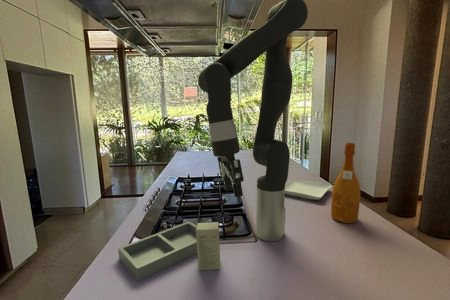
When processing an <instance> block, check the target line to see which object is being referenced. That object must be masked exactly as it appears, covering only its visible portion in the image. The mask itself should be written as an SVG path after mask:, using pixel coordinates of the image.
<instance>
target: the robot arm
mask: <svg viewBox="0 0 450 300" xmlns="http://www.w3.org/2000/svg"><path fill="white" fill-rule="evenodd" d="M308 12H309V11H308V6H307V4H306V2H305V1H304V0H282V1H280V2H277V3H276V4H275V5H273V6H272V7H271V8H270V9H269V11H268V13H267V17H266V22H265V23H264V24H262V25H261V26H260V27H258V28H256V29H255V30H253V31H251V32H250V33H248V34H247V35H245V36H244V37H243V38H240V39H239V40H238V41H237V42H236V43H234V44H233V45H232V46H231V47H230V48H228V49H227V50H226V51H225V52H224V53H223V54H222V55H221V56H220V57H219V58H217V60H215V61H213V62H212V63H210V64H208V65H207V66H206V67H205V68H203V70H202V71H200V72H199V73H200V74H199V75H198V78H197V83H198V86H199V88H200V89H201V91H203V92H204V93H206V94H207V104H206V106H205V108H206V116H207V122H208V128H209V129H208V131H209V137H210V142H211V143H210V144H211V148H212V149H211V150H212V154H213V156H214V157H217V162H218V163H217V164H218V169H219V175H220V177H221V178H222V179H223V183H224V189H225V191H226V192H229V191H232V190H233V196H234V197H235V198H241V197H243V195H244V193H243V188H242V182H244V180H245V179H244V175H243V169H242V165H241V160H240V158H238V159H236V157H235V155H236V154H239V153H240V152H241V151H240V150H241V149H240V143H239V139H238V138H239V137H238V133H237V127H236V124H235V120H234V115H233V109H232V105H231V102H232V81H231V80H232V78H234V77H235V76H236V75H239V74H240V73H241V72H244V71H245V69H247V68H248V67H249V66H250V65H251V64H252V63H254V62H255V61H256V60H257V59H258V58H259V57H261V56H262V55H263V54H264V53H265V59H264V60H265V61H264V71H263V78H262V87H261V98H260V100H261V101H260V108H259V113H258V123H257V127H256V132H255V137H254V140H253V141H254V143H253V147H252V157H253V159H254V161H255V163H257V164H258V165H261V166H263V167H266V168H265V169H266V170H265V174H264V175H262V176H259V177H258V178H257V180H256V212H255V213H256V215H255V216H256V219H255V220H256V221H255V222H256V223H255V236H257V238H258V239H260V240H262V241H266V242H278V241H279V240H283V237H284V234H285V231H286V207H285V195H286V194H285V183H287V182H288V181H287V180H288V177H289V169H290V168H289V167H290V157H291V154H290V153H291V152H290V148H289V146H288V143H287V142H285V141H283V140H277V139H275V137H276V136H275V134H276V128H277V125H278V122H279V119H280V118H281V116H282V115H283V113H284V111H285V110H286V108H287V106H288V105H289V103H290V100H291V96H292V89H293V81H294V80H293V78H294V77H293V73H292V69H291V65H290V64H289V60H288V58H287V50H286V49H287V41H288V37H289V35H290V34H292V33H294V32H296V31H298V30H299V29H301V28H302V27H303V26H305V23H306V22H307V19H308Z"/></svg>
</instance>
